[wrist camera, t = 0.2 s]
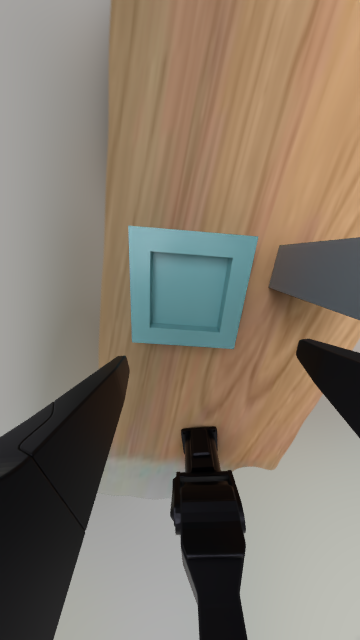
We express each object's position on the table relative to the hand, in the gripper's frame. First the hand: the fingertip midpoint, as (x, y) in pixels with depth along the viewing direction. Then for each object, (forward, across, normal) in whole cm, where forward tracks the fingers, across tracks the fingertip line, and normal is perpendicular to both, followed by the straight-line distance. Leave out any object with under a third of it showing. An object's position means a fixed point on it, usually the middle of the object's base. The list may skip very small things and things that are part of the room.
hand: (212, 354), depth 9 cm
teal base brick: (+14, 0, 0) cm, 14 cm away
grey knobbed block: (+14, -13, -2) cm, 19 cm away
